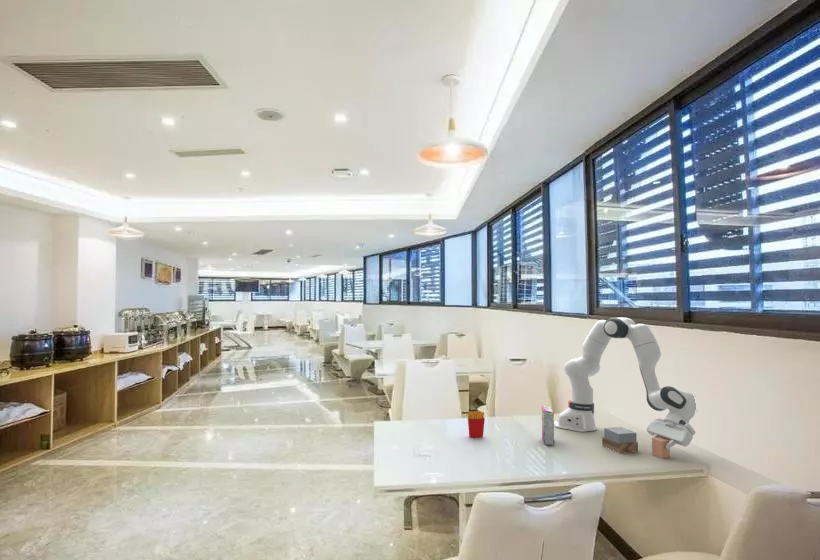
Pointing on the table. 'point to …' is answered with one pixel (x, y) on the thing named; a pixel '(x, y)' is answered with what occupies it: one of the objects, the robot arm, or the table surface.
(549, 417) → the candy bar box
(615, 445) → the walnut slab
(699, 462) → the table surface
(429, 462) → the table surface
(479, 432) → the french fries
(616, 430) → the charcoal slab
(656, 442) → the terracotta block
